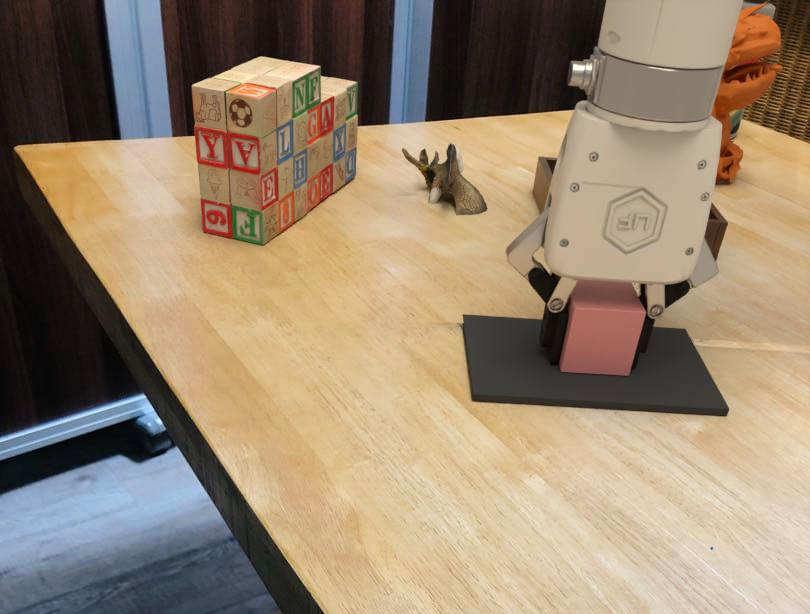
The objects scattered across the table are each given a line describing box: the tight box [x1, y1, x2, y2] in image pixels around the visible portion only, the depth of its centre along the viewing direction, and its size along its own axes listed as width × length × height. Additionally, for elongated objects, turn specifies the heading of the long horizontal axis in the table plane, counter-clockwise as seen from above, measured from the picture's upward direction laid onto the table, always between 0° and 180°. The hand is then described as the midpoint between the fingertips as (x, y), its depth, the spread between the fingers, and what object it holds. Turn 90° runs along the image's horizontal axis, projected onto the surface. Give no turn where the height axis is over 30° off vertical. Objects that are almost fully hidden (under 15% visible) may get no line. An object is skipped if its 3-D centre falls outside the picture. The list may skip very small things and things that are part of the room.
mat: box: [461, 313, 730, 417], centre depth 64 cm, size 18×12×1 cm, turn 91°
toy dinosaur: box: [711, 2, 784, 184], centre depth 95 cm, size 11×11×18 cm
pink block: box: [558, 279, 646, 376], centre depth 62 cm, size 5×5×5 cm
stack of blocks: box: [191, 56, 359, 246], centre depth 81 cm, size 21×6×12 cm, turn 160°
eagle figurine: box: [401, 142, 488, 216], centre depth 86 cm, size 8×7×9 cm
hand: (589, 355), depth 64 cm, fingers closed on pink block, 5 cm apart
